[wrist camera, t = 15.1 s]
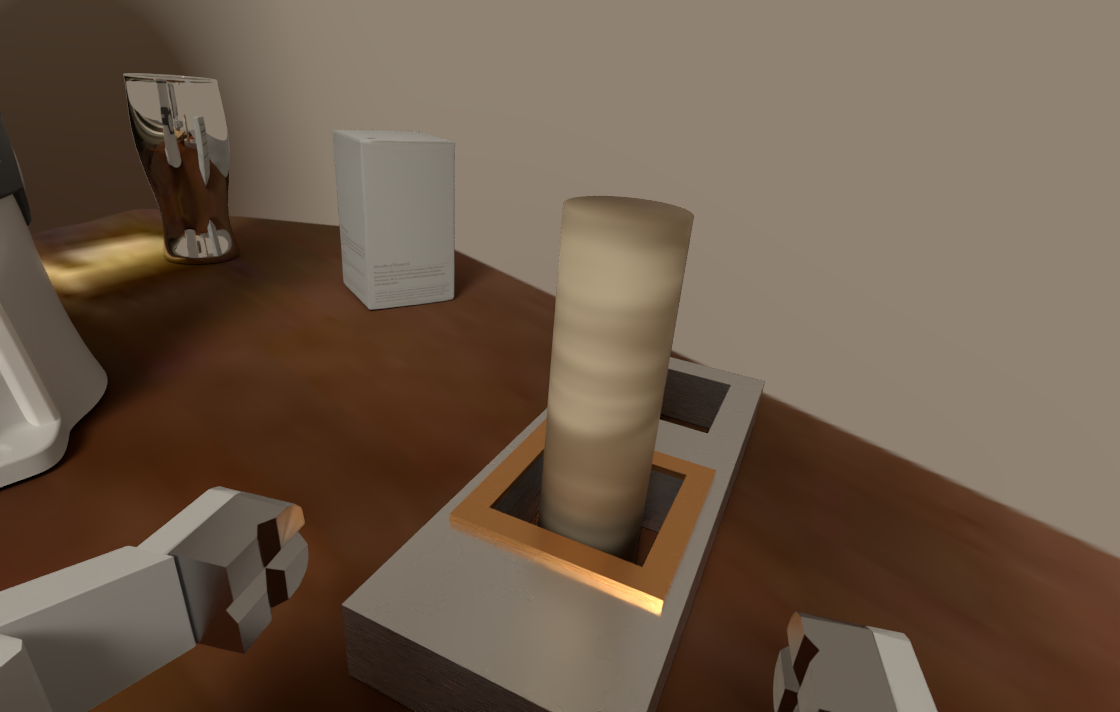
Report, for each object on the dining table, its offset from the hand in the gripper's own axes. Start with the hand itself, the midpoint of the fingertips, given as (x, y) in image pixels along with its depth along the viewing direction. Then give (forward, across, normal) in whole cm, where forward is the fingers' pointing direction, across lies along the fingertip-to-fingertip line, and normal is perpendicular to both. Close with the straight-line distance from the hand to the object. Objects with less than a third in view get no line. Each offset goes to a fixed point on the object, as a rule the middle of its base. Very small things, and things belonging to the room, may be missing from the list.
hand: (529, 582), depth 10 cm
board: (+14, -1, +10) cm, 18 cm away
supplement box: (+37, +21, +10) cm, 44 cm away
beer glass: (+39, +41, +10) cm, 57 cm away
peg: (+12, 0, +10) cm, 15 cm away
